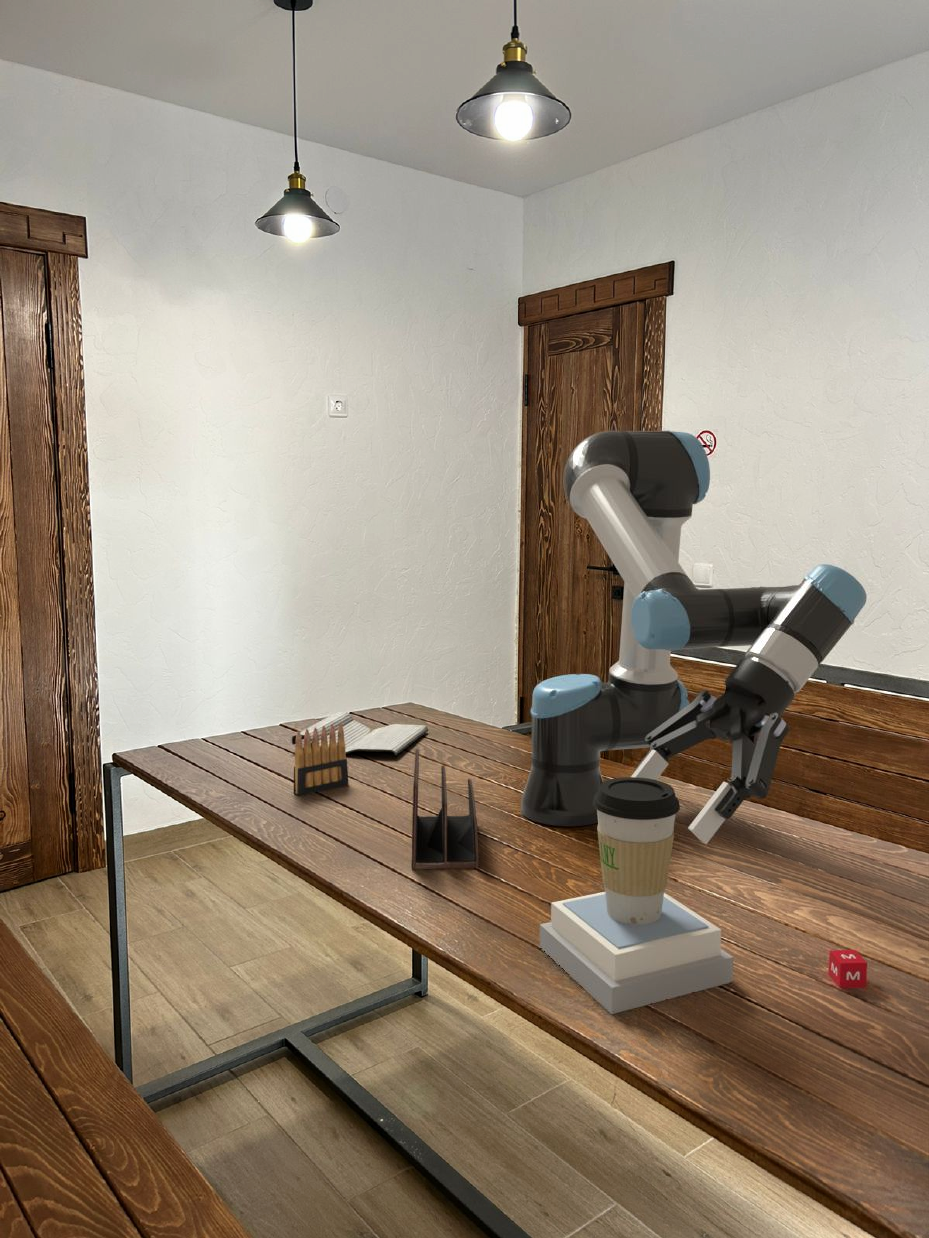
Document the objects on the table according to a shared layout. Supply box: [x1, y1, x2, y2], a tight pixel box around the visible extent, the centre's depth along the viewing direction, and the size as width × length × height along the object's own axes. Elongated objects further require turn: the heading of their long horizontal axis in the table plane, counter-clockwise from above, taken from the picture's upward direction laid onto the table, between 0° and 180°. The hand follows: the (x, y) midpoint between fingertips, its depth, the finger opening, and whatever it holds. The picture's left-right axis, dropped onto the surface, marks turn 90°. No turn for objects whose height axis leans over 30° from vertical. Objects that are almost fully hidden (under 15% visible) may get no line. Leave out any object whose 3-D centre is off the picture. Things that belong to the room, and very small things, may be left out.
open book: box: [291, 711, 429, 759], centre depth 207 cm, size 23×24×5 cm
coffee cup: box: [593, 776, 681, 925], centre depth 108 cm, size 10×10×15 cm
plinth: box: [539, 891, 734, 1015], centre depth 109 cm, size 16×16×6 cm
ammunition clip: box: [293, 723, 350, 797], centre depth 174 cm, size 11×2×12 cm, turn 128°
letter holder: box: [411, 748, 479, 870], centre depth 146 cm, size 10×20×14 cm, turn 2°
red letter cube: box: [827, 949, 868, 989], centre depth 106 cm, size 3×3×3 cm
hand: (660, 816), depth 108 cm, fingers open, 13 cm apart
